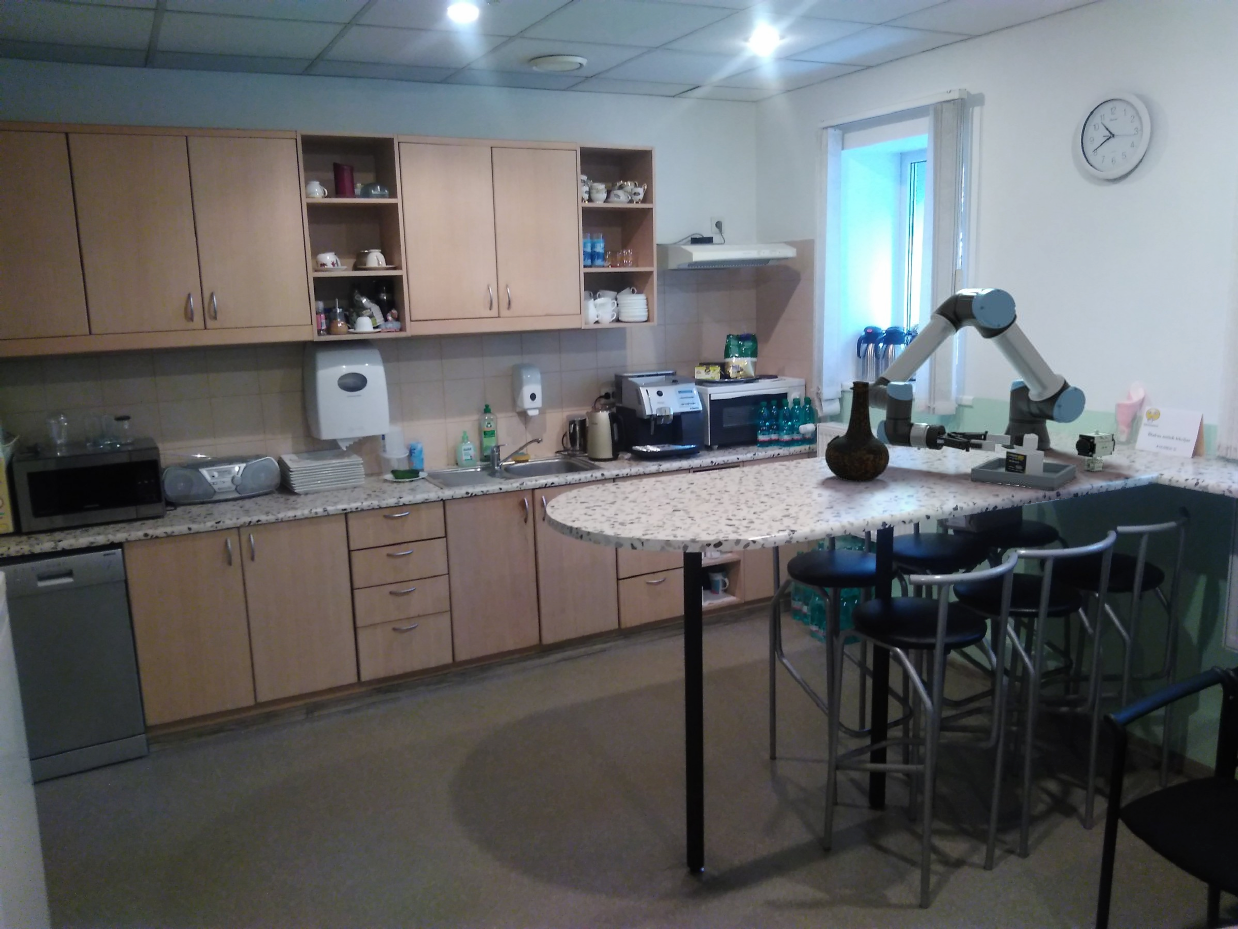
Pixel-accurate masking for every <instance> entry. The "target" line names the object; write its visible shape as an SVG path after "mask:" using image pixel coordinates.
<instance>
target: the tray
mask: <svg viewBox="0 0 1238 929" xmlns="http://www.w3.org/2000/svg"><path fill="white" fill-rule="evenodd" d="M1005 463H1006V457H1004V456H1003V457H1001V456H996V457H994V458H991V459H988V460H987V461H985V462H983V463H979V464H978V465H976V466H974V467H971V468H970V469H971V470H970V482H977V481H981V482H980V483H985V482H990V483H989V484H993V483H1001V484H1010V485H1019V486H1025V487H1031V488H1030V489H1034V488H1036V489H1035V490H1043V491H1053V492H1055V491H1057V490H1058V489H1059V487H1060V488H1062V485H1063V484H1064V485H1066V484H1068V483H1069V482H1070V480H1071V481H1072V480H1073V478H1074V479H1076V477H1077V465H1075V464H1068V463H1067V464H1066V463H1059V462H1047V461H1043V474H1042V476H1039V475H1031V474H1022V473H1013V472H1005ZM1068 481H1069V482H1068ZM1065 483H1066V484H1065ZM1001 484H1000V485H1001ZM1064 485H1063V486H1064ZM1025 487H1024V488H1025Z"/></svg>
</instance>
